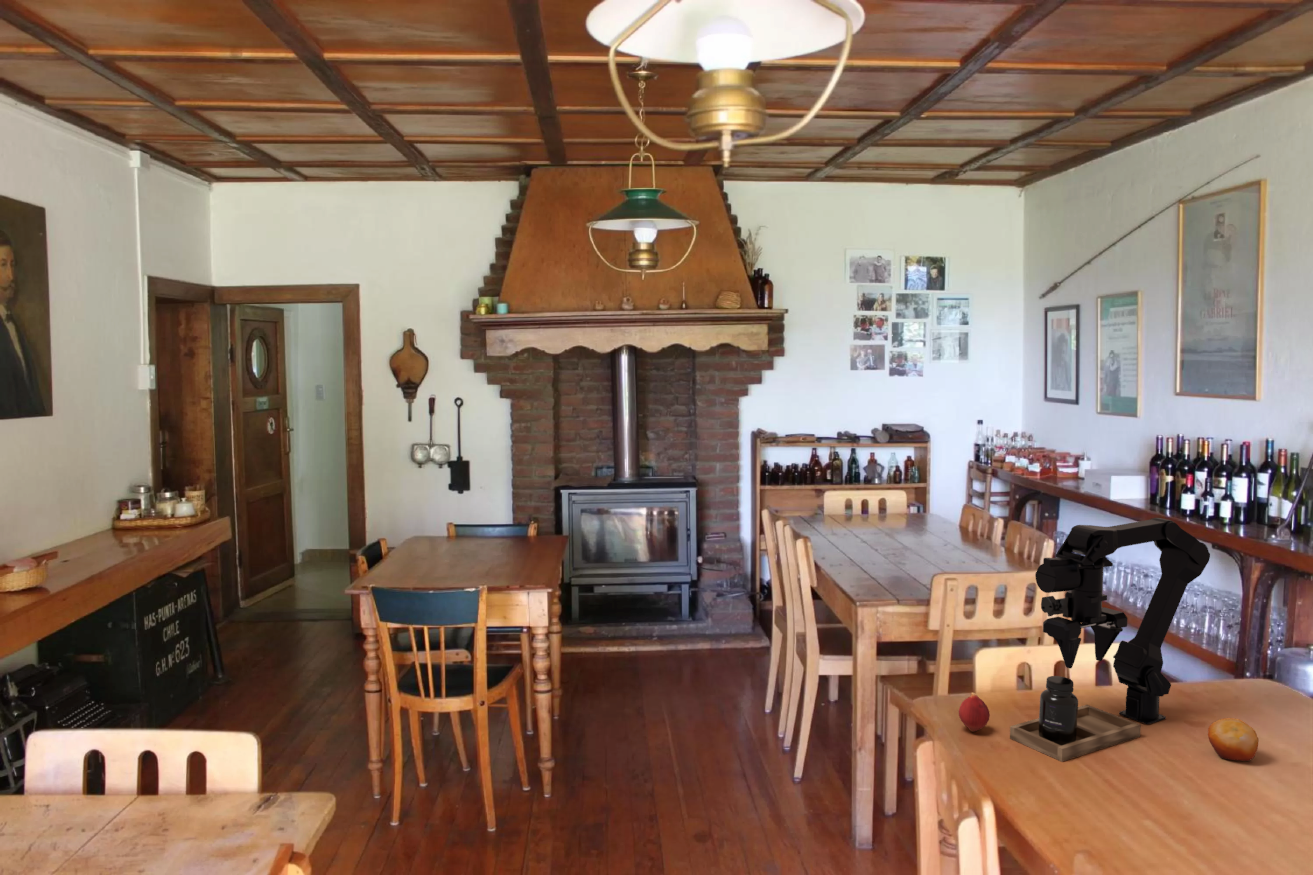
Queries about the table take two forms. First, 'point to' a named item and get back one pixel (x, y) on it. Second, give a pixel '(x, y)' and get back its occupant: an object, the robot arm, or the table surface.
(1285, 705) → the table surface
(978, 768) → the table surface
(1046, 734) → the supplement bottle
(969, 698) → the onion
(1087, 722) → the holder
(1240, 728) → the fruit
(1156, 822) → the table surface
